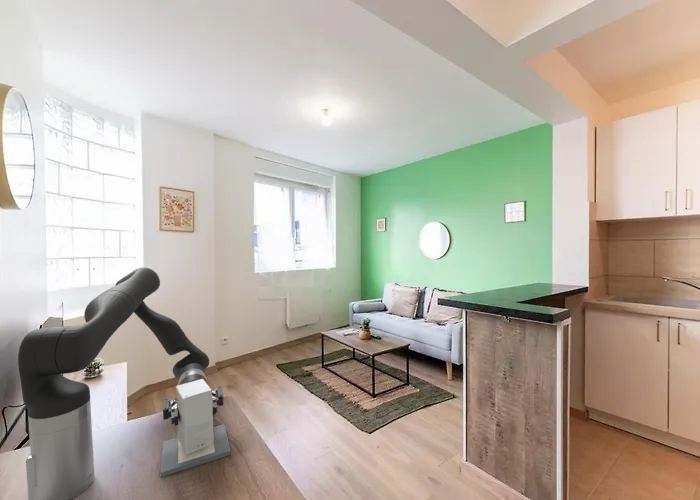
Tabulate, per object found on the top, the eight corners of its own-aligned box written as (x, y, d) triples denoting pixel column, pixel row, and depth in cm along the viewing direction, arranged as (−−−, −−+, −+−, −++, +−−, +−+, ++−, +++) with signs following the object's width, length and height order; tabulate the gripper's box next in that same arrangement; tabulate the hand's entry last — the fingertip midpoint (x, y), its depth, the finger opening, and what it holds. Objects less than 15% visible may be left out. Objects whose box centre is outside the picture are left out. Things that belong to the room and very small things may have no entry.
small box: (214, 443, 74) (212, 389, 74) (184, 455, 70) (182, 399, 70) (205, 427, 81) (203, 377, 80) (177, 438, 77) (175, 385, 76)
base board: (160, 477, 67) (160, 472, 67) (163, 444, 78) (163, 440, 77) (230, 454, 74) (230, 450, 73) (224, 427, 84) (224, 423, 84)
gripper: (162, 379, 84) (158, 409, 70) (220, 368, 91) (227, 393, 76) (163, 407, 85) (160, 442, 70) (221, 393, 91) (228, 423, 77)
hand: (195, 416), depth 73 cm, fingers closed on small box, 7 cm apart
